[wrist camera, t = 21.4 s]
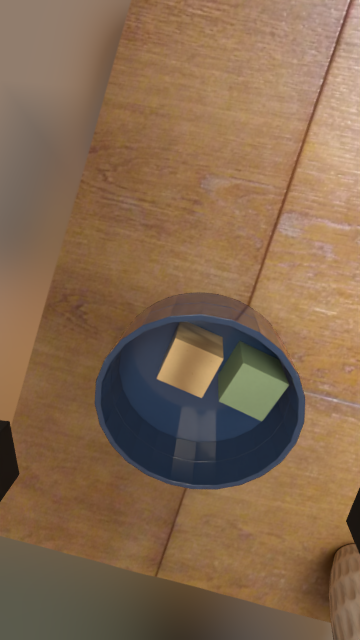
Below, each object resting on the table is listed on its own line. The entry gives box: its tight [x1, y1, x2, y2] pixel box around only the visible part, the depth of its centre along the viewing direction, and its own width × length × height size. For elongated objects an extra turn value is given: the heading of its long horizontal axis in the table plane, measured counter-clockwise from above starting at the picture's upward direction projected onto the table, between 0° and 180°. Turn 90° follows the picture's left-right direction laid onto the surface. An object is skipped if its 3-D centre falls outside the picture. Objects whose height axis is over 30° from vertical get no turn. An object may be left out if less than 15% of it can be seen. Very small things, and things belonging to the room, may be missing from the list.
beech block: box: [157, 322, 224, 398], centre depth 32 cm, size 5×5×5 cm
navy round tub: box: [95, 293, 305, 489], centre depth 33 cm, size 20×20×7 cm
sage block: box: [218, 341, 289, 421], centre depth 32 cm, size 5×5×5 cm
